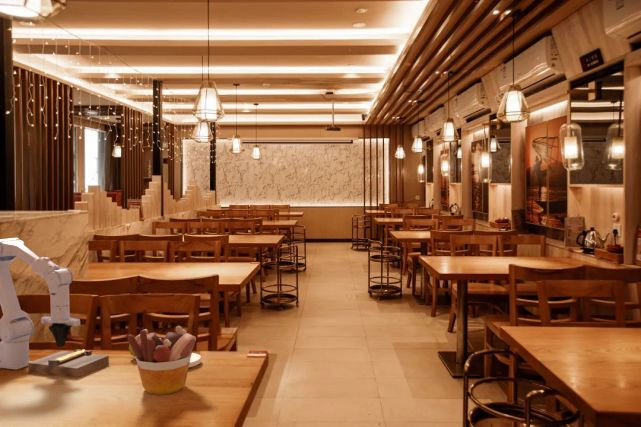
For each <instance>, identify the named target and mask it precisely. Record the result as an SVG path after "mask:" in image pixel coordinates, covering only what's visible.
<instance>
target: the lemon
mask: <svg viewBox="0 0 641 427" xmlns="http://www.w3.org/2000/svg"><path fill="white" fill-rule="evenodd" d="M137 336H138V335H136V336H134V337H135V339H136V340H137ZM128 351H129V354H130V355H131V356H133V357H135V356H136V354H135V352H134V351H133V349H132V347H131V345H130V343H129V345H128Z"/></svg>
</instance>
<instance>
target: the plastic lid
mask: <svg viewBox="0 0 641 427" xmlns="http://www.w3.org/2000/svg"><path fill="white" fill-rule="evenodd" d="M201 363H202V356H201V355H200V354H198V353H195V352H192V355H191V359H190V364H189V368H192V367H196V366H197V365H199V364H201Z"/></svg>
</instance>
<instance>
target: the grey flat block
mask: <svg viewBox="0 0 641 427" xmlns="http://www.w3.org/2000/svg"><path fill="white" fill-rule="evenodd" d="M79 350H81V349H74V351H69V350H68V351H67V350H61V351H58V352H55V353H53V354H49V355H47V356H43V357H40V358H38V359H35V360H31V361H32V362H29V363H28V366H27V368H28V373H37V374H44V375H52V376H53V375H54V376H58V377H59V376H60V377H69V378H75V379H76V378H79V377H82V376H84V375H86V374H89V373H91V372H93V371H96V370H99V369H101V368H104V367H106V366H107V365H109V364H110V360H109V359H110V358H109V357H110V355H109V354H108V355H107V354H106V355H105V354H97V353H92V350H91V349H90V350H86V353H85V354H82V355H79V356H77V357H74V358H71V359H69V360H66V361H63V362H59V360H54V359H57V358H60V357H63V356H65V355H68V354H71V353H74V352H77V351H79Z"/></svg>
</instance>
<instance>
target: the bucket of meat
mask: <svg viewBox="0 0 641 427" xmlns="http://www.w3.org/2000/svg"><path fill="white" fill-rule="evenodd" d="M175 330H176V332H171V331H169V332H166V335H165V336H164V338H163V339H162V338H161V337H159V336H158V335H157V334H156V332H150V333H149V330H148V329H147V328H145V329H142V330H140V332H139V334H138V335H136V336H137V340H136V339H135V337H136V336H135V335H133V334H128V335H127V340H126V341H128V343H129V344H130V345H131V347H132V349H133V351H134V352H135V354H136V356H135V361H136V363H137V364H136V365H137V368H138V372H139V377H140V381H141V385H142V388H144V390H145V391H146V392H147V393H148V394H150V395H154V396H155V395H157V396H164V395H165V396H166V395H172V394H175V393H177V392H180V391H181V390H182V388H183V387H184V386H185V385H186V382H187V377H188V373H189V372H188V371H189V368H190V367H189V364H190V359H191V355H192V353H193V349H194V346H195V344H196V340H197V337H196V336H195V335H192V334H190V333H187V330H186V329H185V328H184V329H183V327H182V326H180V325H177V326H175Z"/></svg>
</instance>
